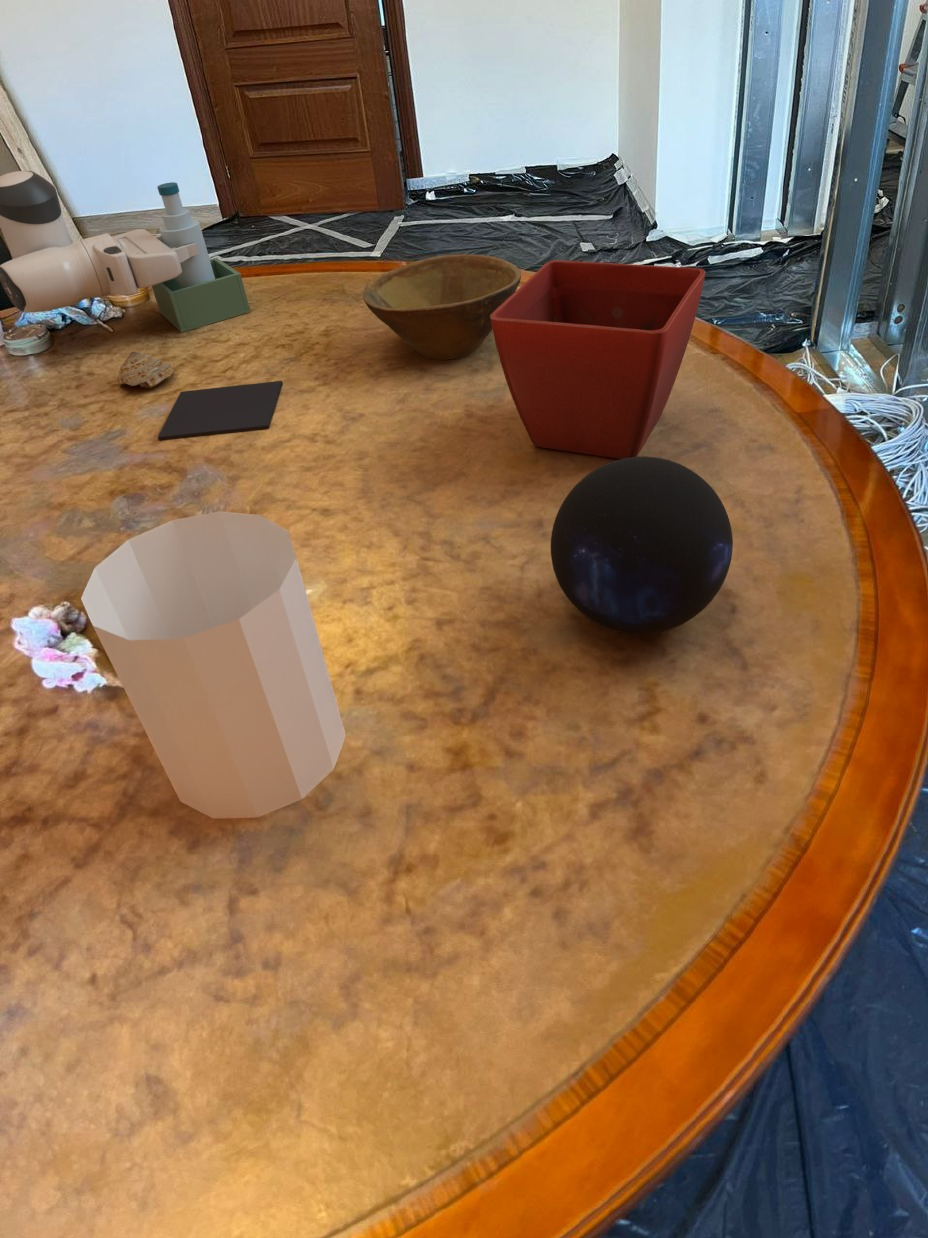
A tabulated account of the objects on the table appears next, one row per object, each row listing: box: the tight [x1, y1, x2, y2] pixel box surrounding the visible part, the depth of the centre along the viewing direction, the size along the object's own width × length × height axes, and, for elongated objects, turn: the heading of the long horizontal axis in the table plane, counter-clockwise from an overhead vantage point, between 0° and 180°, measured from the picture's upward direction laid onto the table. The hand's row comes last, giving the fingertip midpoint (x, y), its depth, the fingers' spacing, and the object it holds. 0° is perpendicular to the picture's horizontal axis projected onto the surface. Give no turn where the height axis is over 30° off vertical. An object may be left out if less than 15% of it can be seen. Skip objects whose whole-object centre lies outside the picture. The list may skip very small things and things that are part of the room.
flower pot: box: [490, 259, 706, 460], centre depth 99 cm, size 19×19×17 cm
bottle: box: [156, 181, 215, 290], centre depth 144 cm, size 7×7×20 cm
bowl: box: [362, 253, 522, 361], centre depth 126 cm, size 22×23×10 cm
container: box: [80, 510, 347, 819], centre depth 64 cm, size 14×14×18 cm
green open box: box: [151, 257, 252, 333], centre depth 149 cm, size 13×13×7 cm
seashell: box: [117, 351, 175, 389], centre depth 129 cm, size 8×6×8 cm
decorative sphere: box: [550, 455, 734, 635], centre depth 73 cm, size 15×15×15 cm
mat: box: [157, 380, 283, 441], centre depth 119 cm, size 15×14×1 cm
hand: (189, 242), depth 144 cm, fingers closed on bottle, 6 cm apart
